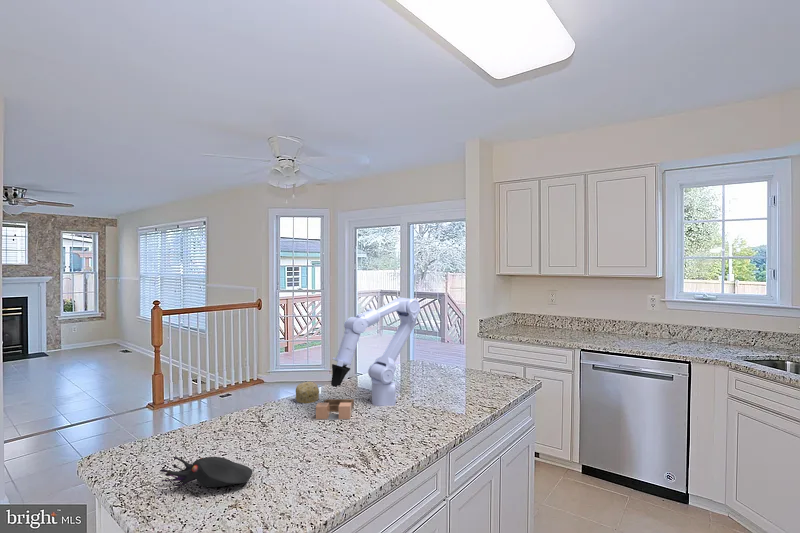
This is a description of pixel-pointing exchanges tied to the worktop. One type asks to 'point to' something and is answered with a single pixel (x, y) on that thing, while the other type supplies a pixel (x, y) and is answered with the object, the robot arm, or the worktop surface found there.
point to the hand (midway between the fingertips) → (335, 385)
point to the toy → (211, 472)
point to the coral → (307, 392)
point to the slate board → (333, 417)
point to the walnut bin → (335, 403)
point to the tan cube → (322, 411)
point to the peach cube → (345, 411)
